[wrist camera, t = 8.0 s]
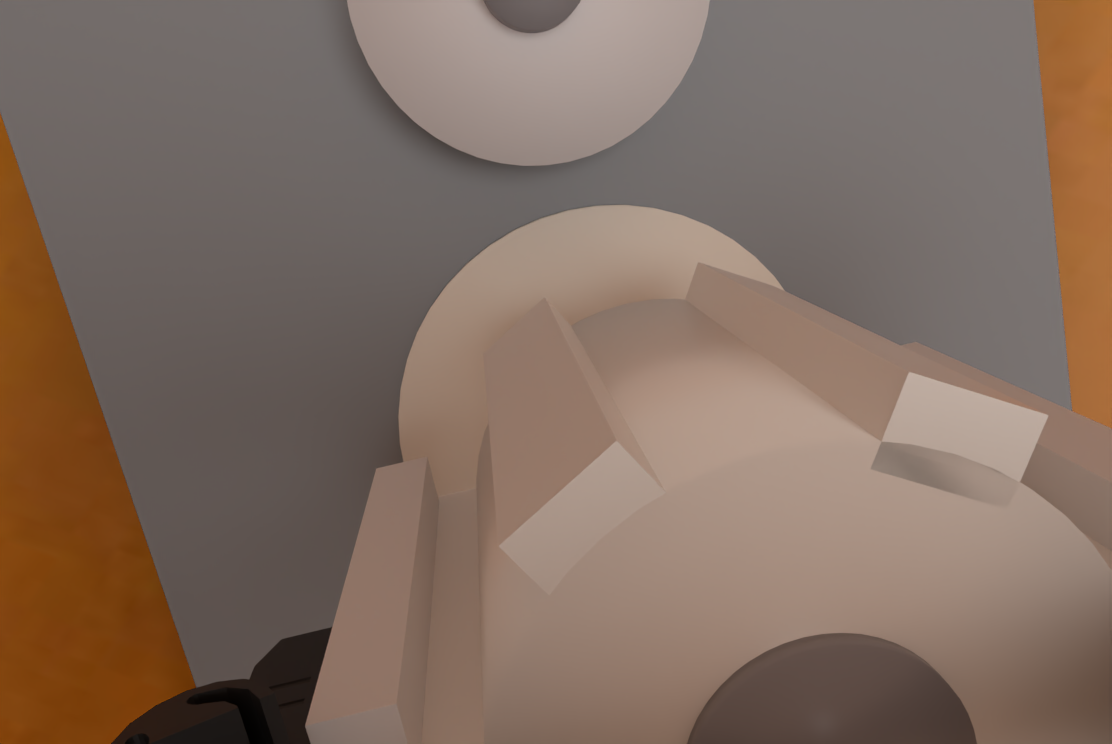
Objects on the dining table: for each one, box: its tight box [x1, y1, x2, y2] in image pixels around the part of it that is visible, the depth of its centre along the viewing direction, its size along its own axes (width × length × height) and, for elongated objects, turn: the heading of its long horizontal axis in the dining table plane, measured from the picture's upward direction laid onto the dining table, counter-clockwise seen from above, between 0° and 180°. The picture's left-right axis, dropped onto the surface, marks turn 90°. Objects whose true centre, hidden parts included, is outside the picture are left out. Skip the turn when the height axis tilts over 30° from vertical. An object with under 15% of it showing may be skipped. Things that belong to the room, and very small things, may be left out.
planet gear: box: [421, 262, 1112, 744], centre depth 11 cm, size 7×6×7 cm
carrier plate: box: [0, 0, 1072, 688], centre depth 18 cm, size 18×18×4 cm
